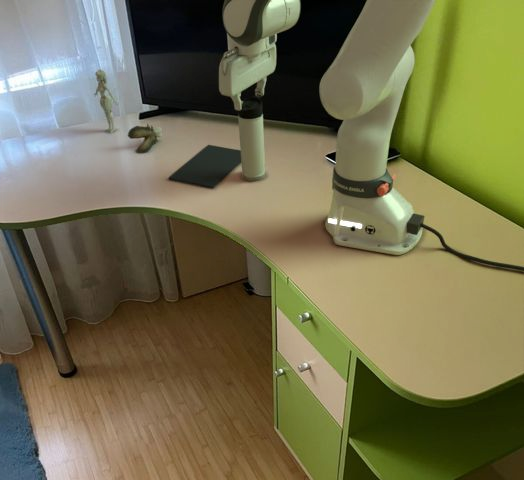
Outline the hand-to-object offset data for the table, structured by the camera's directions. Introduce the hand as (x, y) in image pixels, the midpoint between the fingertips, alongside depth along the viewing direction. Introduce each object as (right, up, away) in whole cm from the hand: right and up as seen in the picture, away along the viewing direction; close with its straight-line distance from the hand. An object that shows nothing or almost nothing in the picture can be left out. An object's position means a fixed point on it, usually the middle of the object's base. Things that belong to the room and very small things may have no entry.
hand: (249, 102), depth 138 cm
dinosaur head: (-32, 0, +30) cm, 44 cm away
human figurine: (-45, +9, +40) cm, 60 cm away
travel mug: (+1, -14, +14) cm, 20 cm away
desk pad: (-11, -10, +19) cm, 24 cm away
